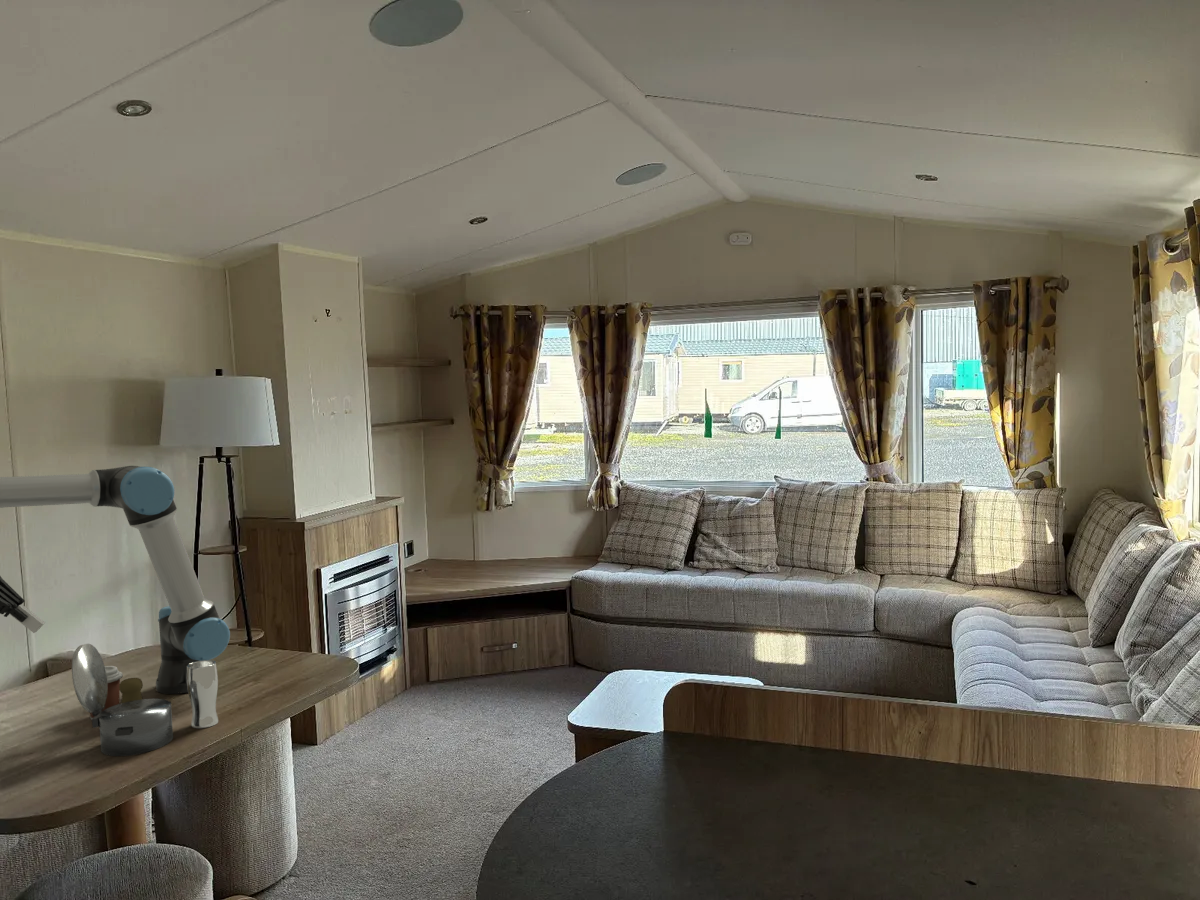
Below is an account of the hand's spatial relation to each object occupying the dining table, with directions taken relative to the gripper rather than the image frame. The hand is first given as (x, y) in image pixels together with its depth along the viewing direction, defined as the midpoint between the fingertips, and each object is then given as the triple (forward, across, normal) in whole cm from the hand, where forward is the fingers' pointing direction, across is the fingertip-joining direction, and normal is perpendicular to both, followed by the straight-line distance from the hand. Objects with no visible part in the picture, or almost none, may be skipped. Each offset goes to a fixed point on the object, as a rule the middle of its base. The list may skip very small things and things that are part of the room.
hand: (39, 627), depth 205 cm
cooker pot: (+34, 0, -7) cm, 35 cm away
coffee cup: (+24, -23, -17) cm, 37 cm away
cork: (+30, -16, -11) cm, 36 cm away
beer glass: (+43, -10, +2) cm, 44 cm away
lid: (+16, 0, -2) cm, 16 cm away
